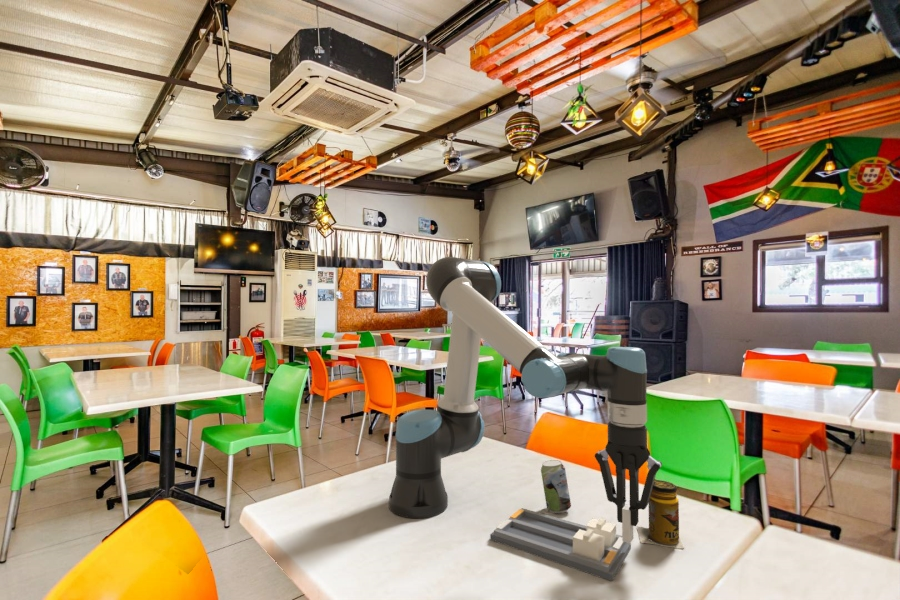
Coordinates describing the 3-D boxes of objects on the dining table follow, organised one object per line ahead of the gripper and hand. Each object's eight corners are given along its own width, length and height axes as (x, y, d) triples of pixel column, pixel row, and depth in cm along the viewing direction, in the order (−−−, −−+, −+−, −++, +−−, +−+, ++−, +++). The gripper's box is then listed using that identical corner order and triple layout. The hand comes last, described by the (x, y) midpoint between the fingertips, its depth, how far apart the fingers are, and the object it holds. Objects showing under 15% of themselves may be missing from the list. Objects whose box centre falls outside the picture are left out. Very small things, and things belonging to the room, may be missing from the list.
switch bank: (490, 539, 98) (490, 528, 98) (519, 516, 109) (519, 506, 109) (612, 581, 83) (612, 568, 83) (630, 548, 94) (630, 537, 94)
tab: (572, 555, 89) (572, 533, 89) (579, 546, 92) (579, 525, 92) (598, 563, 86) (598, 540, 86) (604, 554, 89) (604, 532, 89)
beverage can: (571, 517, 109) (571, 467, 109) (541, 514, 110) (540, 465, 111) (570, 506, 115) (569, 459, 115) (541, 503, 116) (540, 457, 117)
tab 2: (586, 542, 94) (586, 521, 94) (592, 535, 97) (592, 514, 97) (610, 550, 91) (610, 528, 91) (616, 542, 94) (616, 520, 94)
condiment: (683, 549, 94) (683, 491, 94) (640, 543, 96) (639, 487, 97) (677, 533, 101) (676, 479, 101) (637, 527, 103) (636, 475, 104)
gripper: (589, 421, 92) (590, 537, 92) (657, 431, 85) (659, 558, 84) (600, 415, 98) (601, 523, 98) (665, 423, 91) (666, 541, 90)
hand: (627, 539), depth 91 cm, fingers closed
